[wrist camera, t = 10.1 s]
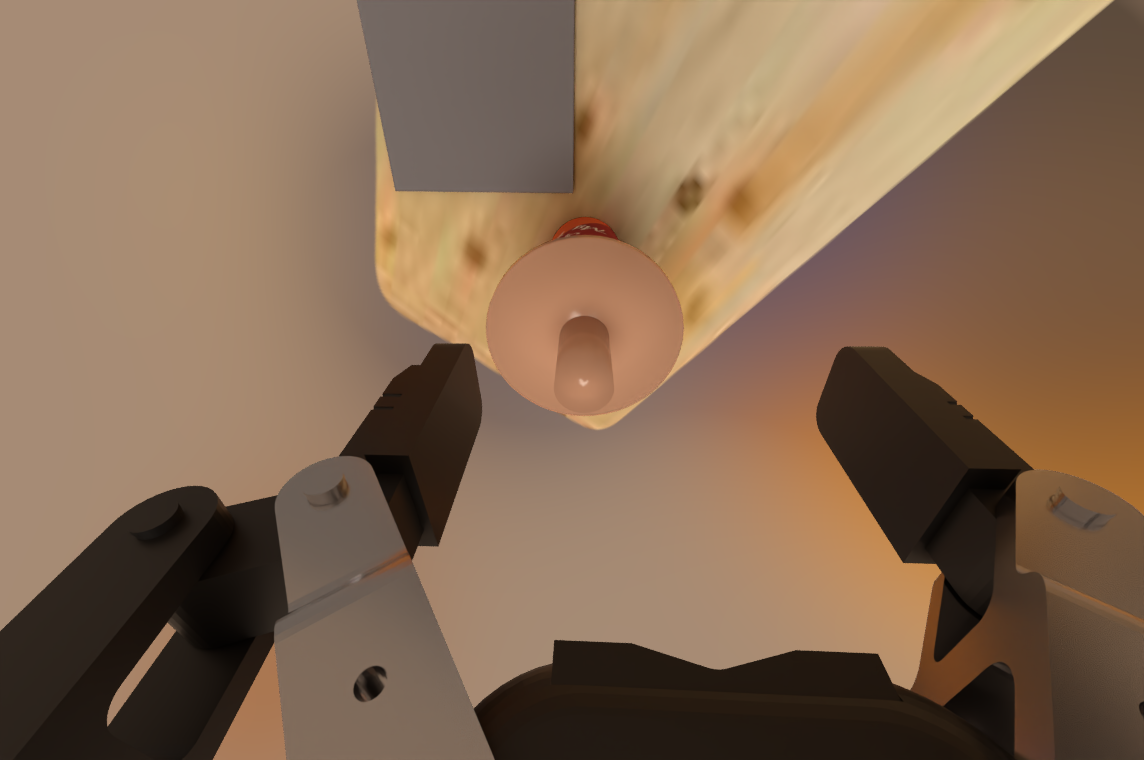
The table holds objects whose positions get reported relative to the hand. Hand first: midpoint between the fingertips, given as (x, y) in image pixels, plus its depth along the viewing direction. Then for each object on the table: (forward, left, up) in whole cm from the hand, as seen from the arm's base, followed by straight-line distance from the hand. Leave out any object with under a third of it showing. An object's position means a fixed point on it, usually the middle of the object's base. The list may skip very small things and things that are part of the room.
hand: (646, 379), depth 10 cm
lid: (+1, +6, -14) cm, 15 cm away
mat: (+9, -6, -29) cm, 31 cm away
